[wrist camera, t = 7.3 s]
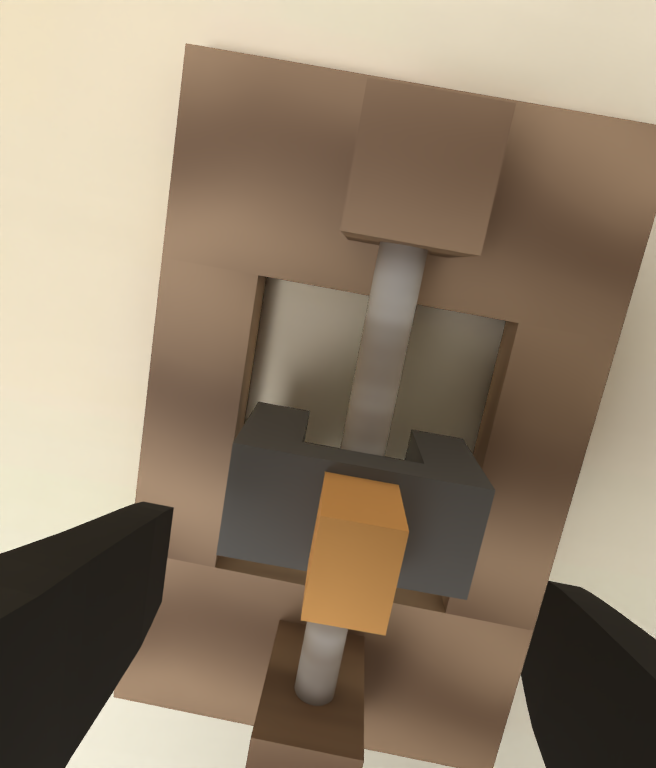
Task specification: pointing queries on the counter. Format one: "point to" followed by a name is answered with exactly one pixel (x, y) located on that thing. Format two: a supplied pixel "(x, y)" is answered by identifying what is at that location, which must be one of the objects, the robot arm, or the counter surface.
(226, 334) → the brown wooden frame
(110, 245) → the counter surface
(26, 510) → the counter surface
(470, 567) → the clip
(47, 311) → the counter surface
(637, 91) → the counter surface
